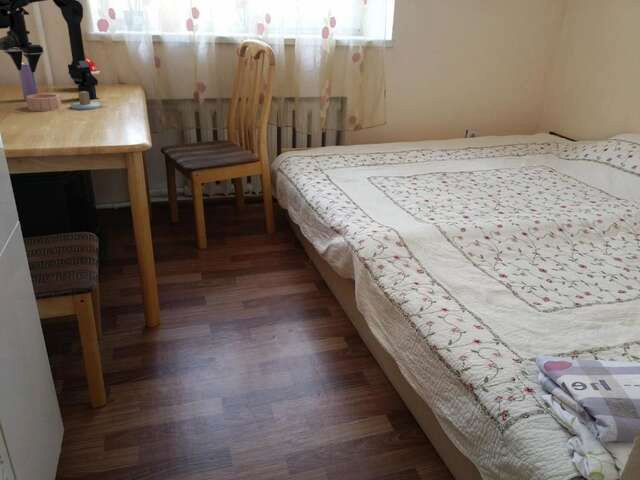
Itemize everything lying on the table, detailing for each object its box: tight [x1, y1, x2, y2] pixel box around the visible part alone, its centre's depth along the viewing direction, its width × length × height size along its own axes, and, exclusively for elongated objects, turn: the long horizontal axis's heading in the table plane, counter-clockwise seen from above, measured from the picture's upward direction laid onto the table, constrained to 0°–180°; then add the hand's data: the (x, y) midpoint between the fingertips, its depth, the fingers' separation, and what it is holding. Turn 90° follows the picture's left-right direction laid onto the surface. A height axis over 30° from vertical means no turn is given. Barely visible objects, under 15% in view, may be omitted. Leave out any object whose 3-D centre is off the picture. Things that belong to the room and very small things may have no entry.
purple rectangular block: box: [18, 62, 40, 102], centre depth 224 cm, size 6×6×15 cm
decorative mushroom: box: [76, 57, 101, 88], centre depth 253 cm, size 14×14×15 cm
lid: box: [70, 91, 101, 111], centre depth 213 cm, size 11×11×6 cm
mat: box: [65, 105, 106, 112], centre depth 214 cm, size 12×10×1 cm
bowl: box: [26, 93, 63, 112], centre depth 210 cm, size 12×12×5 cm
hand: (26, 71), depth 205 cm, fingers open, 9 cm apart
